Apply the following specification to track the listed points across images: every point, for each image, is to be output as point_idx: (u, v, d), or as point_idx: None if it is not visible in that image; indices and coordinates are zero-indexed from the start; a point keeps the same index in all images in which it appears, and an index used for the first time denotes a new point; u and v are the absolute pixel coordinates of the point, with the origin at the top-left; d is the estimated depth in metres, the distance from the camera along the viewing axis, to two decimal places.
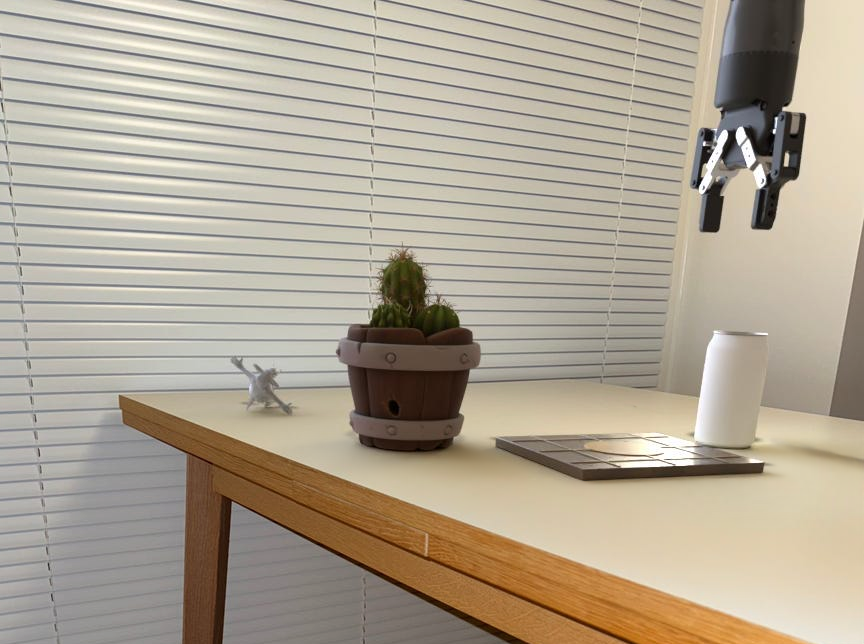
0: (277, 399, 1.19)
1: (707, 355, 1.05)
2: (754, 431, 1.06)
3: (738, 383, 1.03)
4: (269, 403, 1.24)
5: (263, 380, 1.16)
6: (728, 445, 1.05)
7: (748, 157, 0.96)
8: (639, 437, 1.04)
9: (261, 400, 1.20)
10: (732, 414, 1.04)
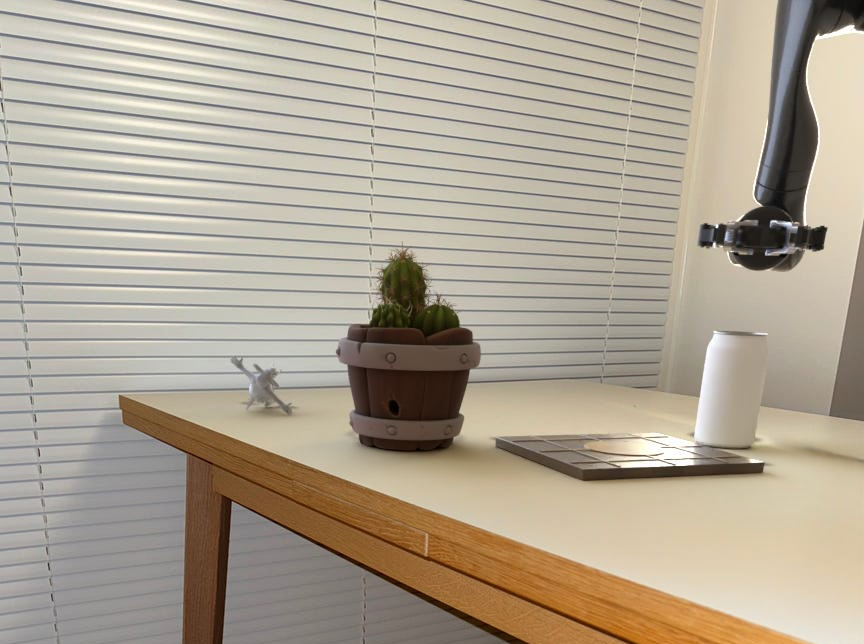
0: (277, 399, 1.19)
1: (707, 355, 1.05)
2: (754, 431, 1.06)
3: (738, 383, 1.03)
4: (269, 403, 1.24)
5: (263, 380, 1.16)
6: (728, 445, 1.05)
7: (734, 251, 1.17)
8: (639, 437, 1.04)
9: (261, 400, 1.20)
10: (732, 414, 1.04)
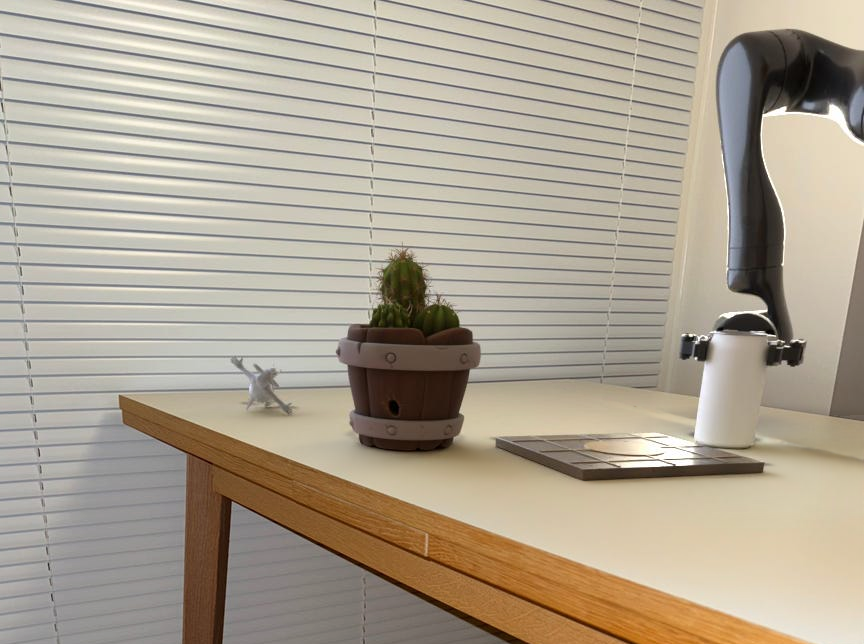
0: (277, 399, 1.19)
1: (707, 355, 1.05)
2: (754, 431, 1.06)
3: (738, 383, 1.03)
4: (269, 403, 1.24)
5: (263, 380, 1.16)
6: (728, 445, 1.05)
7: None
8: (639, 437, 1.04)
9: (261, 400, 1.20)
10: (732, 414, 1.04)
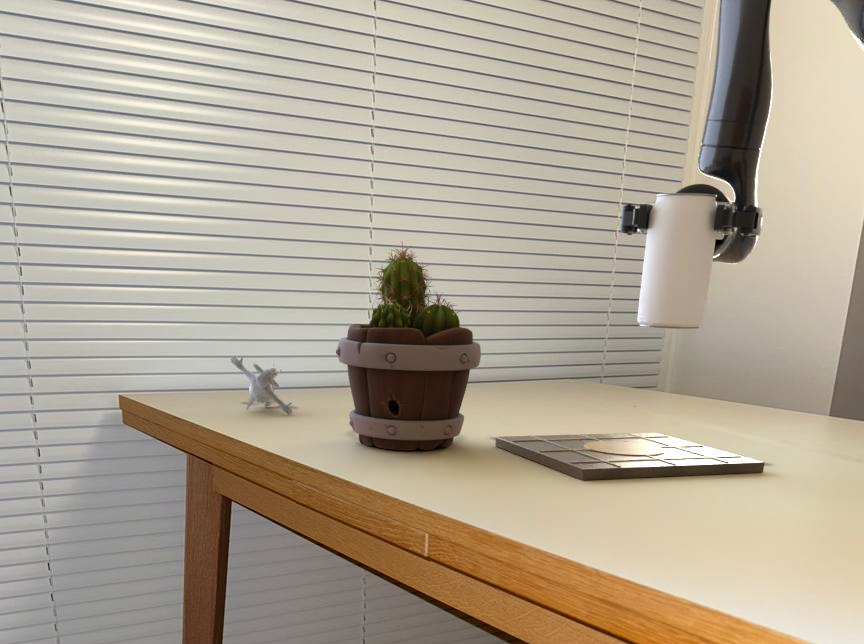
0: (277, 399, 1.19)
1: (649, 222, 0.93)
2: (703, 309, 0.94)
3: (682, 250, 0.91)
4: (269, 403, 1.24)
5: (263, 380, 1.16)
6: (673, 324, 0.93)
7: None
8: (639, 437, 1.04)
9: (261, 400, 1.20)
10: (677, 288, 0.92)
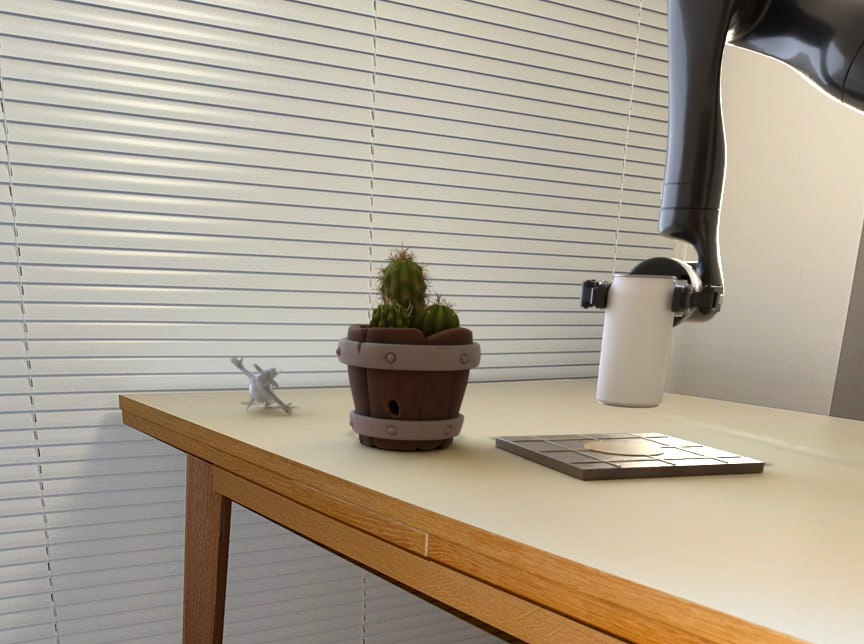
0: (277, 399, 1.19)
1: (607, 301, 0.92)
2: (661, 388, 0.93)
3: (639, 332, 0.90)
4: (269, 403, 1.24)
5: (263, 380, 1.16)
6: (631, 404, 0.93)
7: None
8: (639, 437, 1.04)
9: (261, 400, 1.20)
10: (634, 369, 0.92)
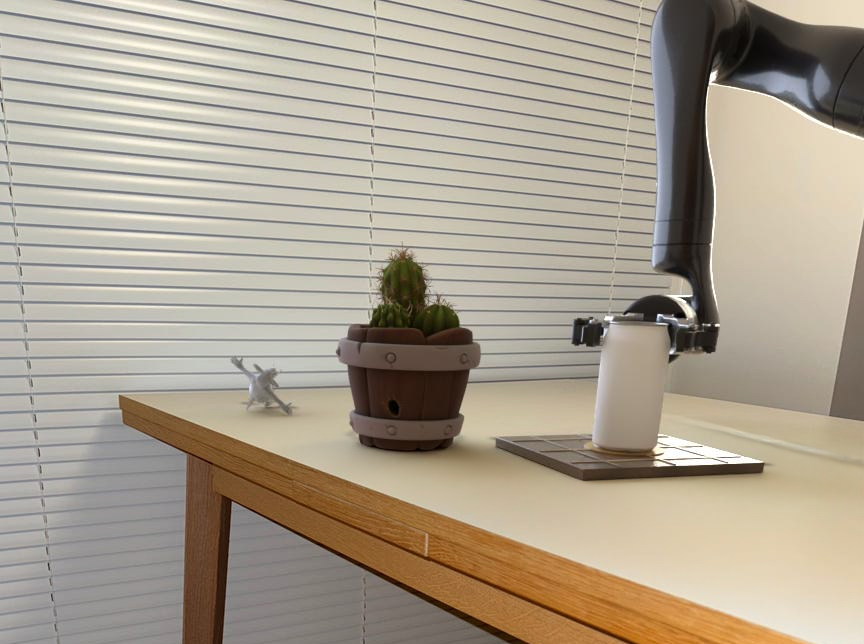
0: (277, 399, 1.19)
1: (602, 348, 0.94)
2: (656, 433, 0.95)
3: (634, 379, 0.92)
4: (269, 403, 1.24)
5: (263, 380, 1.16)
6: (626, 448, 0.94)
7: None
8: None
9: (261, 400, 1.20)
10: (629, 414, 0.93)
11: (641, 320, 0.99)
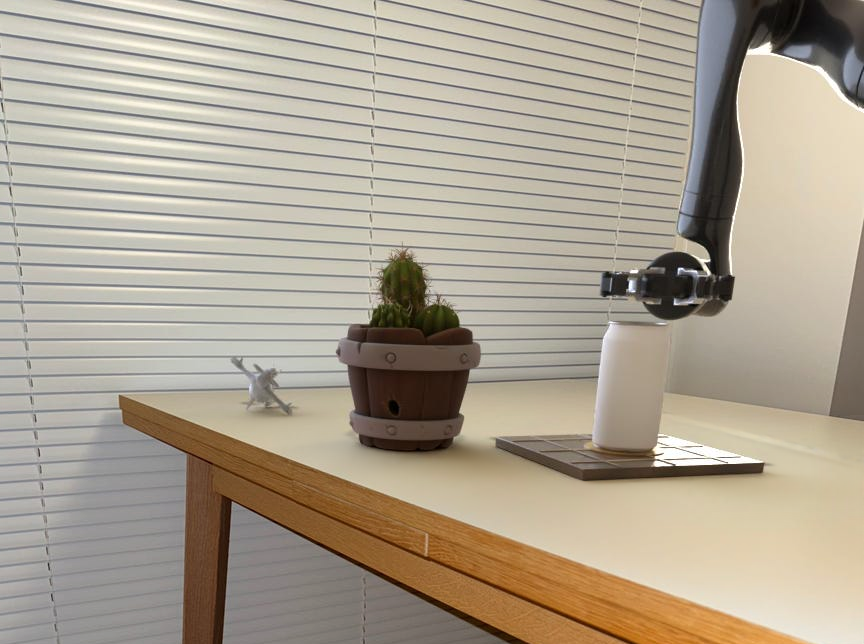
0: (277, 399, 1.19)
1: (602, 348, 0.94)
2: (656, 433, 0.95)
3: (634, 379, 0.92)
4: (269, 403, 1.24)
5: (263, 380, 1.16)
6: (626, 448, 0.94)
7: (639, 301, 1.09)
8: None
9: (261, 400, 1.20)
10: (629, 414, 0.93)
11: (663, 274, 1.08)
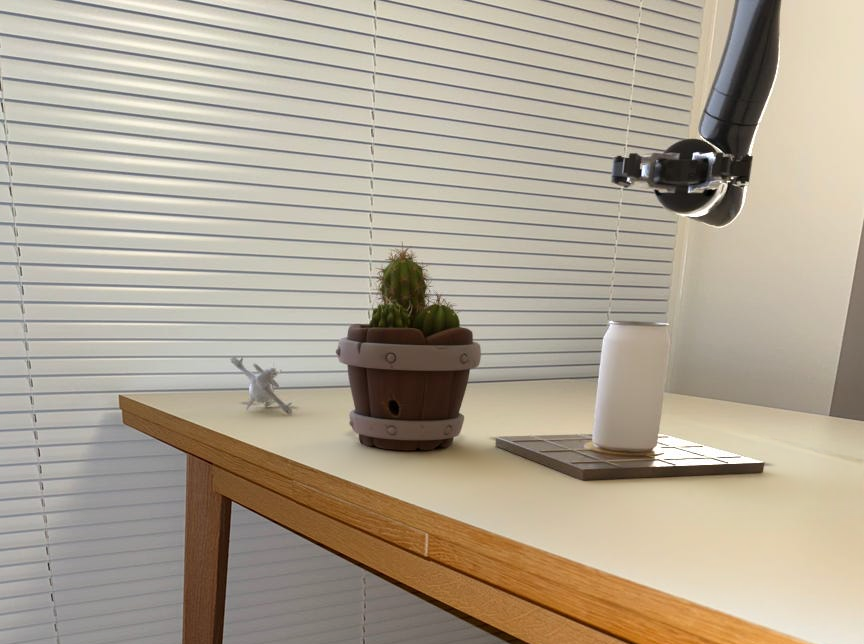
0: (277, 399, 1.19)
1: (602, 348, 0.94)
2: (656, 433, 0.95)
3: (634, 379, 0.92)
4: (269, 403, 1.24)
5: (263, 380, 1.16)
6: (626, 448, 0.94)
7: (653, 188, 1.05)
8: None
9: (261, 400, 1.20)
10: (629, 414, 0.93)
11: (677, 160, 1.04)
